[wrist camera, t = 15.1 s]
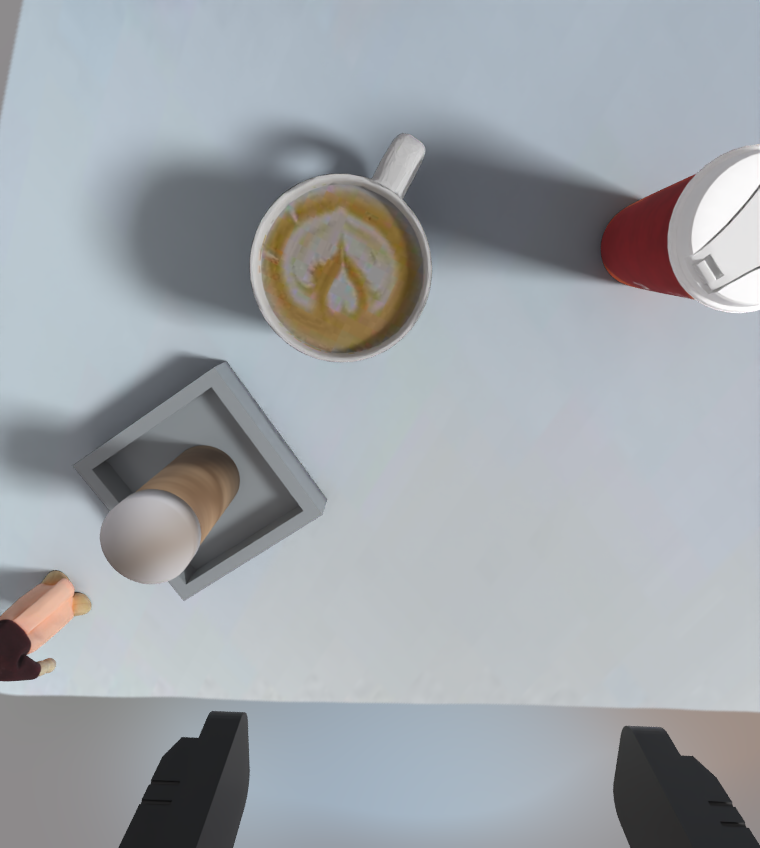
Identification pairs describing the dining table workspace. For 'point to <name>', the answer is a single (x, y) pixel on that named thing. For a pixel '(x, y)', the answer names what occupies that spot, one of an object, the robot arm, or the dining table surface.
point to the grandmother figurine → (37, 625)
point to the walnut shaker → (169, 516)
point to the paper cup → (695, 236)
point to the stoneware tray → (240, 439)
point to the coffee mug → (344, 260)
